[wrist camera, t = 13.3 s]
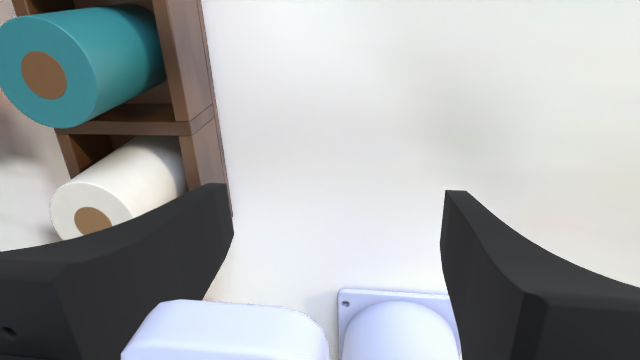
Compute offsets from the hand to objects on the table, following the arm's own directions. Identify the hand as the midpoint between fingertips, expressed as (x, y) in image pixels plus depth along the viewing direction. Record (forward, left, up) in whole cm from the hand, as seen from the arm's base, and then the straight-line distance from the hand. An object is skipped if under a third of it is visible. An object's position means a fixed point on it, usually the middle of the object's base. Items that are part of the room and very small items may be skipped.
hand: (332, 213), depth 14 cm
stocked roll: (-2, +11, -9) cm, 14 cm away
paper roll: (+4, +11, -9) cm, 15 cm away
